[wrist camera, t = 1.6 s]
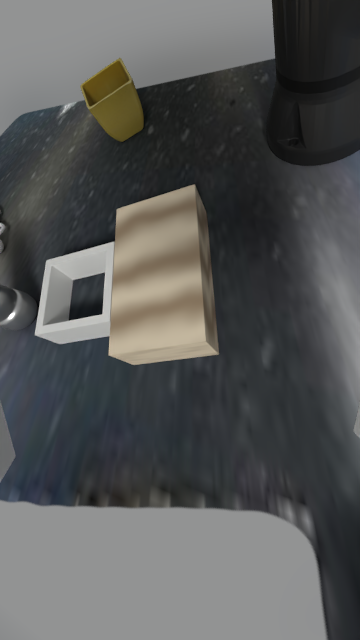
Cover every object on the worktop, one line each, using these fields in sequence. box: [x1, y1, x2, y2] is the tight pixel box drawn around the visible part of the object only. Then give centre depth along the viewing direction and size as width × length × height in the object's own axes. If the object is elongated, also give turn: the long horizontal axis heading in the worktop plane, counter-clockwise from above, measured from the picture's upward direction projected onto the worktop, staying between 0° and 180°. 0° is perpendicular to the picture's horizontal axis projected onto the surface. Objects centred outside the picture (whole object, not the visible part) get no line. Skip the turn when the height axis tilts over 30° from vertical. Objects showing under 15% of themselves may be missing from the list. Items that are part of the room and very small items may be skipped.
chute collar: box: [35, 242, 115, 344], centre depth 44 cm, size 12×12×5 cm
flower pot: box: [80, 58, 144, 142], centre depth 54 cm, size 9×9×9 cm
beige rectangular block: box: [109, 184, 219, 365], centre depth 39 cm, size 22×12×6 cm, turn 4°
